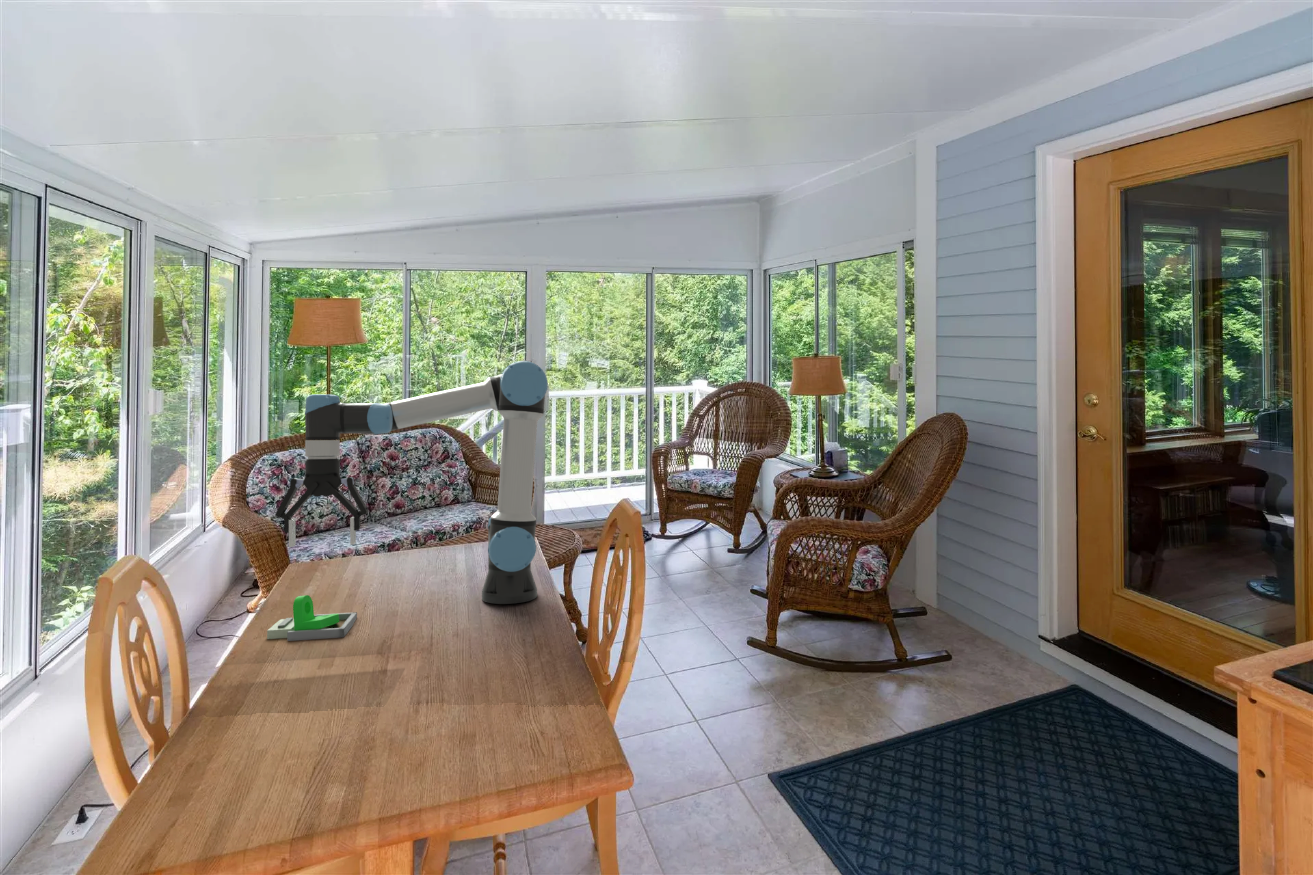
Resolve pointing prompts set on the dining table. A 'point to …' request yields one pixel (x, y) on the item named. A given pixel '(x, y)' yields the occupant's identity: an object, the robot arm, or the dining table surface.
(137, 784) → the dining table surface
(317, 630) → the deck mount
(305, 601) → the mechanical part
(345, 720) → the dining table surface
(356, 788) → the dining table surface
